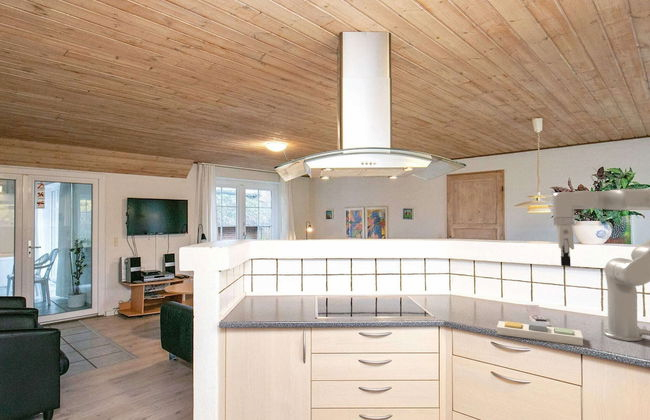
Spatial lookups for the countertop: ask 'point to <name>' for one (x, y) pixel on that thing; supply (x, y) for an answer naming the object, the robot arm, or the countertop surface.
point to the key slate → (537, 326)
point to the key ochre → (513, 325)
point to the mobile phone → (536, 314)
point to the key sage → (563, 331)
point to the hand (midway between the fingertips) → (565, 265)
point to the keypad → (540, 334)
